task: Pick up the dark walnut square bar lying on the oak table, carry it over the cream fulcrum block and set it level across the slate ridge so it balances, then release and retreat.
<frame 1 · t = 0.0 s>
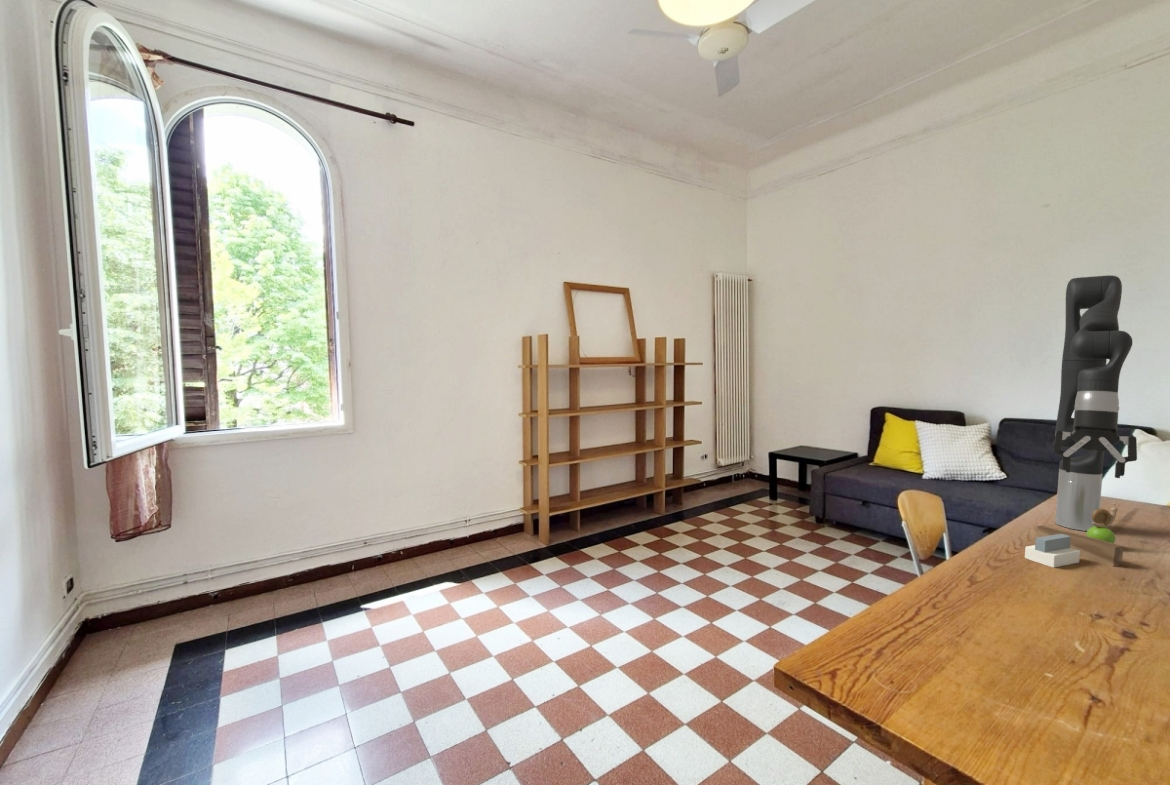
hand: (1091, 474, 120), 22 cm above the table, tool pointing down, fingers open, 8 cm apart
walnut bar: (1076, 553, 127), on the table
snail figurine: (1101, 546, 132), on the table
fulcrum: (1051, 560, 122), on the table
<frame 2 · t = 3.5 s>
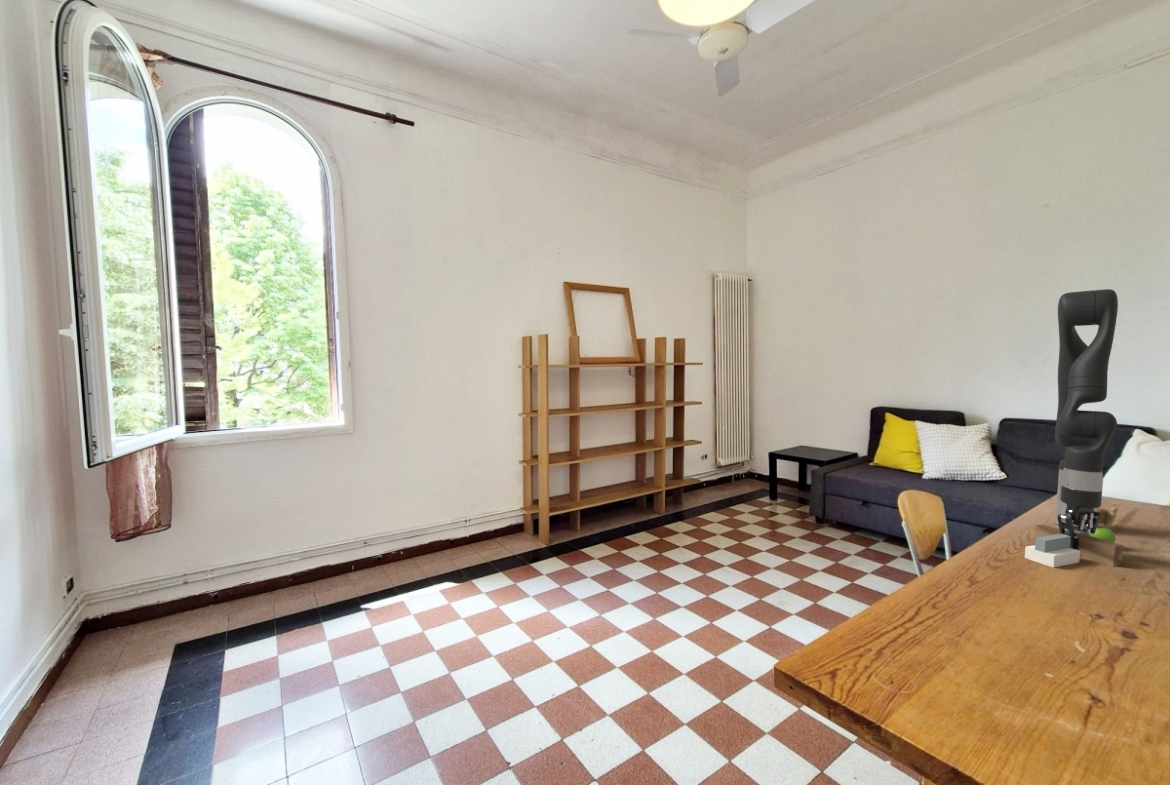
hand: (1076, 550, 127), 1 cm above the table, tool pointing down, fingers closed on walnut bar, 3 cm apart
walnut bar: (1076, 553, 127), on the table, touching gripper
everything else where it was.
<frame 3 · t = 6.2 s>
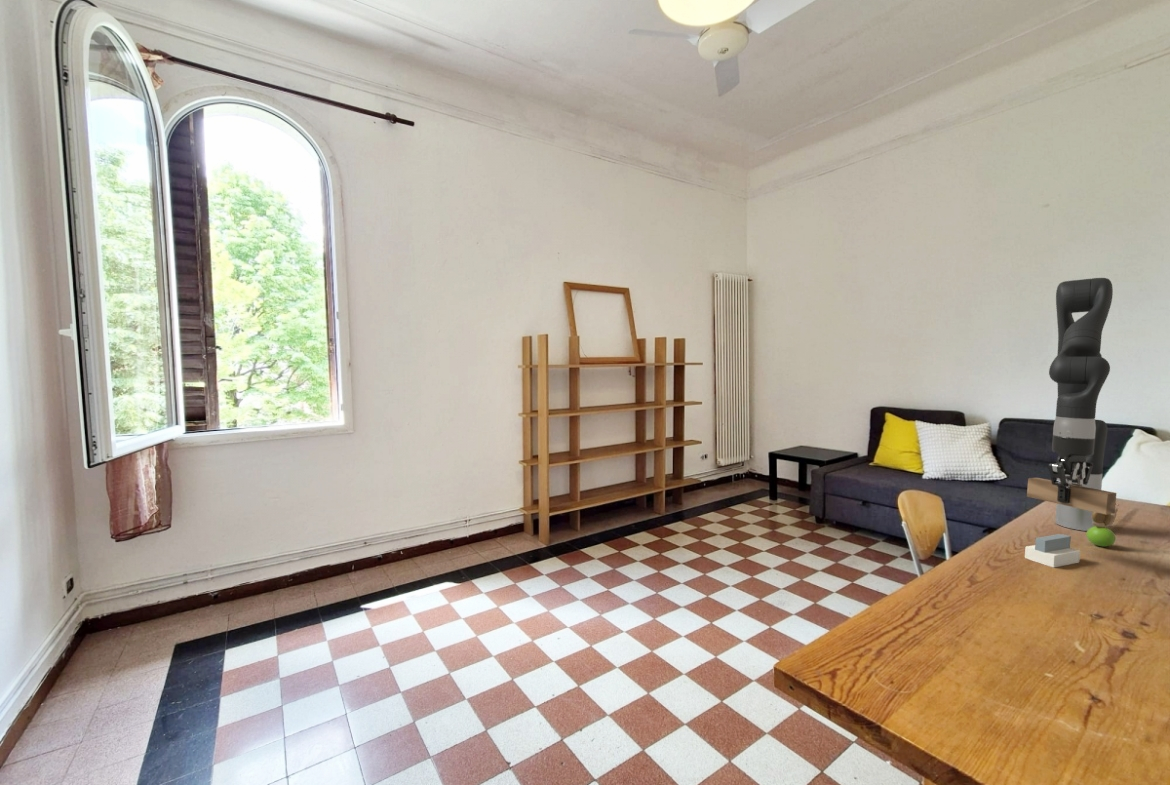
hand: (1068, 501, 123), 15 cm above the table, tool pointing down, fingers closed on walnut bar, 3 cm apart
walnut bar: (1068, 504, 123), point 14 cm above the table, touching gripper
everything else where it was.
when the fingers open (7 cm above the table, at t = 8.9 s): walnut bar stays where it is, resting on fulcrum.
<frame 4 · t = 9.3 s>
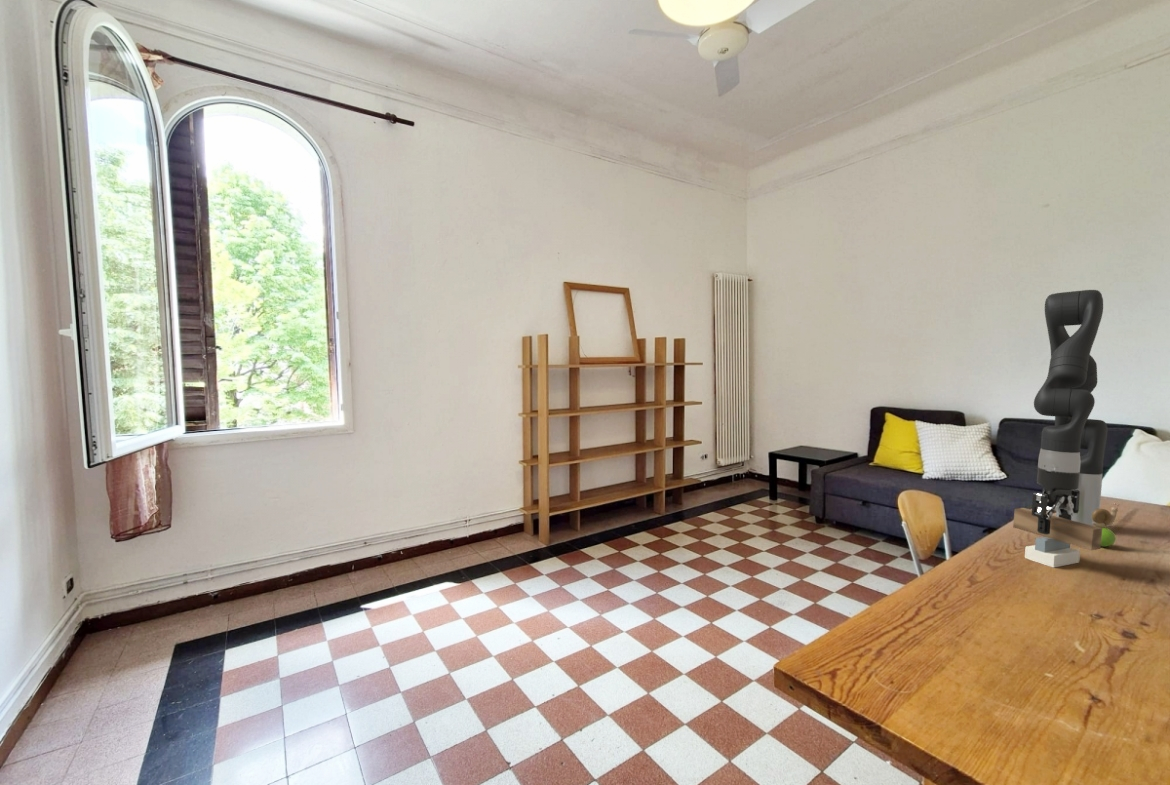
hand: (1053, 531, 122), 7 cm above the table, tool pointing down, fingers open, 7 cm apart
walnut bar: (1054, 537, 122), point 6 cm above the table, touching fulcrum
everything else where it was.
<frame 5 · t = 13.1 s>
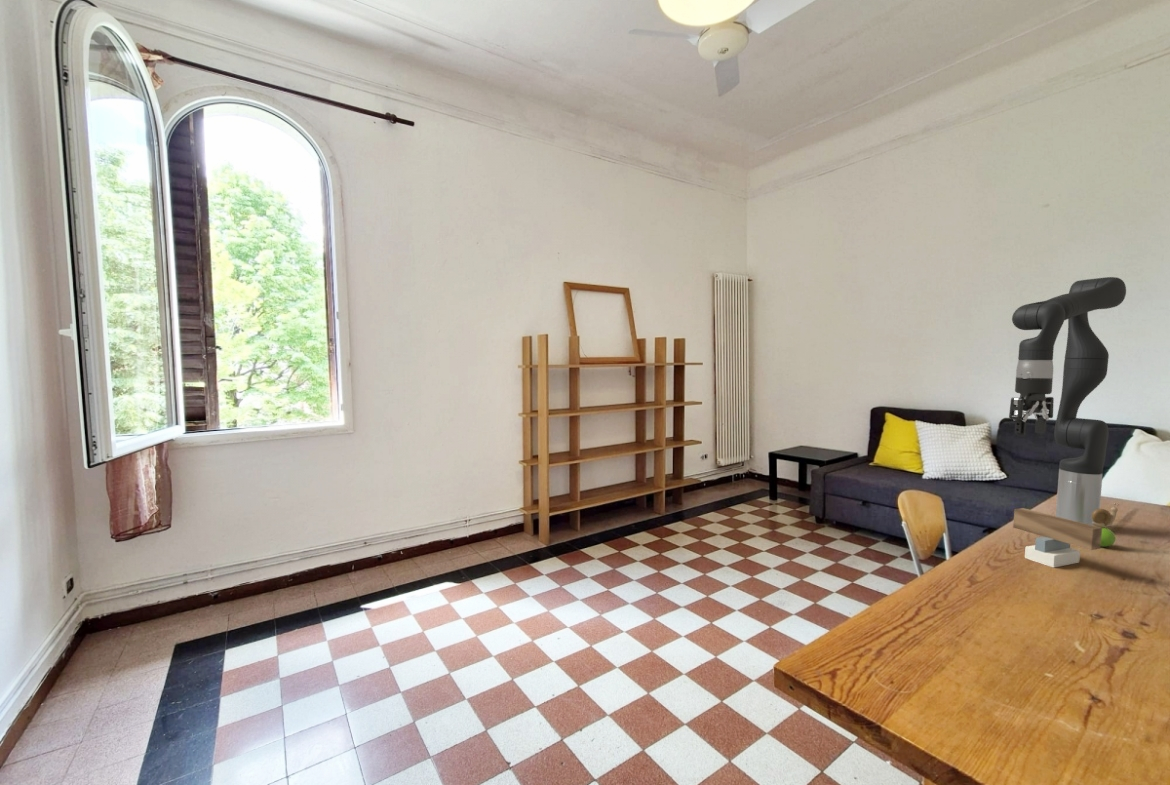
hand: (1029, 434, 135), 30 cm above the table, tool pointing down, fingers open, 8 cm apart
nothing on the table moved.
at the end: walnut bar point 6.0 cm above the table; walnut bar 0.2 cm from the fulcrum (horizontally); walnut bar tilted 0° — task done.
